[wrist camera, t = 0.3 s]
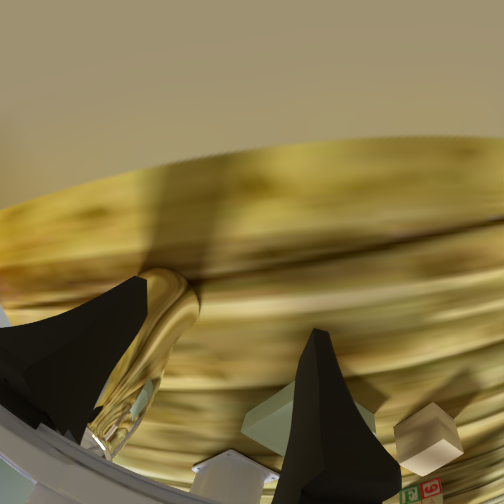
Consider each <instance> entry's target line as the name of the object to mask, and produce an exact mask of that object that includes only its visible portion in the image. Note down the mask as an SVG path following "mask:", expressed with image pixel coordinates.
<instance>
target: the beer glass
mask: <svg viewBox="0 0 504 504" xmlns="http://www.w3.org/2000/svg"><path fill="white" fill-rule="evenodd" d="M138 277H140V278H143V279H146V280H147V300H148V315H147V317H146V319H145V321H144V323H143V325H142V327H141V329H140V331H139V333H138V334H137V336H136V337H135V339H134V340H133V342H132V343H131V345H130V346H129V348H128V349H127V350H126V352H125V353H124V355H123V356H122V358H121V359H120V361H119V362H118V363H117V365H116V366H115V368H114V369H113V371H112V373H111V374H110V376H109V378H108V380H107V382H106V384H105V386H104V388H103V390H102V392H101V394H100V396H99V398H98V400H97V403H96V405H95V407H94V409H93V412H92V414H91V417H90V419H89V422H88V424H87V427H86V430H85V433H84V435H83V438H82V441H81V445H80V446H81V447H83V448H85V449H87V450H89V451H91V452H93V453H94V454H96V455H98V456H100V457H102V458H104V459H106V460H109V461H111V462H113V460H114V459H115V458H116V456H117V455H118V454H119V452H120V451H121V450H122V448H123V447H124V446H125V445H126V443H127V442H128V441H129V439H130V438H131V436H132V435H133V434H134V432H135V431H136V429H137V428H138V426H139V425H140V423H141V422H142V420H143V419H144V417H145V415H146V413H147V412H148V410H149V408H150V406H151V404H152V402H153V400H154V398H155V396H156V393H157V391H158V388H159V386H160V383H161V380H162V378H163V375H164V372H165V369H166V366H167V363H168V360H169V357H170V354H171V352H172V349H173V347H174V345H175V343H176V342H177V340H178V339H179V338H180V337H181V336H182V335H183V334H184V333H185V332H187V331H188V330H189V329H190V328H191V327H192V326H193V325H194V323H195V322H196V320H197V318H198V315H199V300H198V297H197V294H196V292H195V290H194V289H193V287H192V286H191V284H190V283H189V282H188V281H187V280H186V279H185V278H184V277H183V276H181V275H180V274H178V273H177V272H175V271H172V270H170V269H167V268H159V267H157V268H151V269H148V270H146V271H144V272H143V273H141V274H140V275H139V276H138Z"/></svg>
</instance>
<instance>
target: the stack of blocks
mask: <svg viewBox="0 0 504 504" xmlns="http://www.w3.org/2000/svg"><path fill="white" fill-rule="evenodd" d="M399 500H400V504H444V501H443V492H442V486H441V480H440V477H439V478H436V479H433V480H430V481H427V482H424V483H421V484H419V485H415V486H412V487H409V488H406V489H402V490H400V492H399Z"/></svg>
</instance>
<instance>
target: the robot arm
mask: <svg viewBox="0 0 504 504" xmlns="http://www.w3.org/2000/svg"><path fill="white" fill-rule="evenodd" d="M147 315H148V300H147V280H146V279H143V278H140V277H137V276H133V277H132V278H130V279H128V280H126V281H125V282H123V283H121V284H119V285H118V286H116V287H114V288H112V289H111V290H109V291H107V292H105V293H104V294H102V295H100V296H98V297H96V298H94V299H92V300H90V301H88V302H86V303H84V304H82V305H80V306H78V307H76V308H74V309H72V310H69V311H67V312H64V313H62V314H59V315H56V316H53V317H50V318H47V319H44V320H40V321H37V322H33V323H29V324H24V325H19V326H12V327H4V328H0V458H1V459H3V460H4V461H5V462H6V463H8V464H9V465H10V466H11V467H13V468H14V469H15V470H17V471H18V472H19V473H21V474H22V475H23V476H25V477H26V478H27V479H29V480H30V481H32V482H33V483H34V484H36V485H35V487H34V489H33V491H32V493H31V494H30V496H29V498H28V500H27V502H26V504H260V499H261V495H262V491H263V486H264V484H266V483H268V482H271V481H274V480H276V479H279V480H278V484H277V487H276V491H275V494H274V497H273V500H272V503H271V504H382V502H383V501H385V500H387V499H389V498H391V497H393V496H394V495H396V494H397V493H399V492H400V490H401V489H402V476H401V469H400V465H399V464H398V462H397V461H396V460H395V459H394V458H393V457H392V456H391V455H390V454H389V453H388V452H387V451H386V449H385V448H384V447H383V446H382V445H381V443H380V442H379V441H378V439H377V438H376V437H375V435H374V434H373V432H372V431H371V430H370V428H369V427H368V425H367V424H366V422H365V421H364V419H363V417H362V415H361V414H360V412H359V410H358V408H357V406H356V405H355V403H354V401H353V399H352V397H351V394H350V392H349V390H348V388H347V385H346V383H345V381H344V378H343V376H342V373H341V370H340V367H339V365H338V362H337V359H336V356H335V353H334V349H333V346H332V343H331V339H330V335H329V333H328V332H327V331H323V330H319V329H315V328H314V329H313V331H312V333H311V335H310V338H309V340H308V342H307V344H306V347H305V349H304V351H303V353H302V355H301V357H300V360H299V364H298V369H297V374H296V379H295V387H294V398H293V409H292V420H291V429H290V435H289V440H288V444H287V449H286V453H285V457H284V461H283V465H282V469H281V473H280V474H278V473H276V472H274V471H272V470H270V469H268V468H266V467H264V466H262V465H260V464H258V463H256V462H254V461H253V460H251V459H249V458H247V457H245V456H243V455H242V454H240V453H238V452H236V451H235V450H228V451H226V452H223V453H221V454H219V455H217V456H215V457H213V458H211V459H209V460H207V461H204V462H202V463H200V464H198V465H196V466H193V467H192V471H194V472H196V473H197V474H196V476H195V479H194V481H193V484H192V487H191V489H190V492H186V491H183V490H180V489H177V488H174V487H171V486H168V485H165V484H163V483H160V482H157V481H155V480H152V479H150V478H147V477H145V476H142V475H140V474H137V473H135V472H133V471H130V470H128V469H126V468H124V467H121V466H119V465H117V464H115V463H113V462H111V461H109V460H106V459H104V458H102V457H100V456H98V455H96V454H94V453H93V452H91V451H89V450H87V449H85V448H83V447H81V446H80V445H81V441H82V438H83V435H84V433H85V430H86V427H87V424H88V422H89V419H90V417H91V414H92V412H93V409H94V407H95V405H96V403H97V400H98V398H99V396H100V394H101V392H102V390H103V388H104V386H105V384H106V382H107V380H108V378H109V376H110V374H111V373H112V371H113V369H114V368H115V366H116V365H117V363H118V362H119V361H120V359H121V358H122V356H123V355H124V353H125V352H126V350H127V349H128V348H129V346H130V345H131V343H132V342H133V340H134V339H135V337H136V336H137V334H138V333H139V331H140V329H141V327H142V325H143V323H144V321H145V319H146V317H147ZM77 464H78V465H77Z"/></svg>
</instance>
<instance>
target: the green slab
mask: <svg viewBox="0 0 504 504" xmlns="http://www.w3.org/2000/svg"><path fill="white" fill-rule="evenodd" d="M294 387H295V380H294V381H293V382H292V383H290V384H289V385H287V386H286V387H284V388H283V389H282V390H280V391H279V392H277V393H276V394H274V395H273V396H271V397H270V398H268V399H267V400H265V401H264V402H262V403H261V404H259V405H258V406H256V407H255V408H253V409H252V410H250V411H248V412H247V413H246V414H245V418H244V421H243V425H242V428H241V431H240V432H241V433H243V434H244V435H246V436H248V437H249V438H251V439H253V440H254V441H256V442H258V443H260V444H261V445H263V446H265V447H267V448H268V449H270V450H272V451H274V452H276V453H278V454H279V455H281V456H283V457H285V453H286V449H287V444H288V440H289V435H290V429H291V420H292V409H293V398H294ZM353 401H354V400H353ZM354 403H355V405H356V406H357V408H358V410H359V412H360V414H361V415H362V417H363V419H364V421H365V422H366V424H367V425H368V427H369V428H370V430H371V431H372V432H373V434H374V435H375V434H376V429H375V419H374V414H373V413H371V412H370V411H369V410H367V409H366V408H364V407H363V406H361V405H360V404H358V403H357V402H355V401H354Z"/></svg>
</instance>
